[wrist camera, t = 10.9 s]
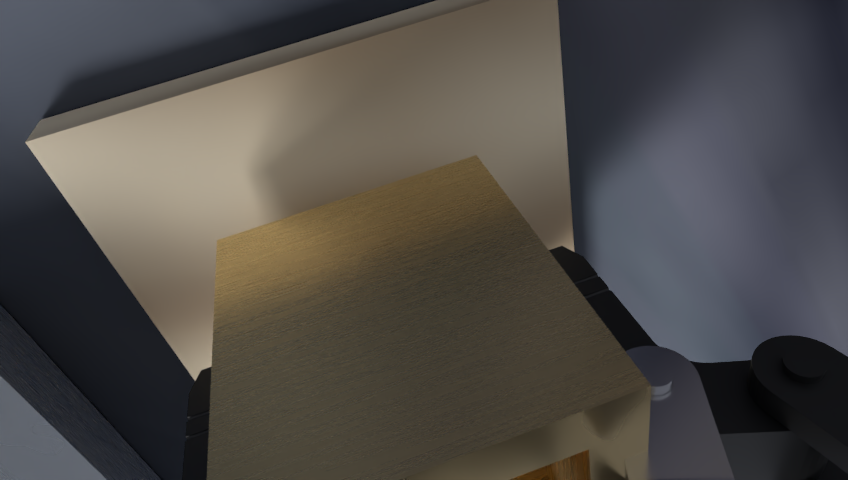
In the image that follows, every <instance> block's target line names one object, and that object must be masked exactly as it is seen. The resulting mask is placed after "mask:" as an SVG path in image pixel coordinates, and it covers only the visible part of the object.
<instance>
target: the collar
mask: <svg viewBox="0 0 848 480" xmlns="http://www.w3.org/2000/svg"><path fill="white" fill-rule="evenodd" d="M650 402H651V385H650V383H649V382H648V381H647V379H646V378H645V377H644V375H643V374H642V373H641V371H640V370H639V369H638V367H637V366H636V365H635V363H634V362H633V361H632V359H631V358H630V357H629V356H628V354H627V353H626V352H625V350H624V349H623V348H622V346H621V345H620V344H619V342H618V341H617V340H616V338H615V337H614V336H613V334H612V333H611V332H610V330H609V329H608V328H607V327H606V325H605V324H604V323H603V321H602V320H601V319H600V317H599V316H598V315H597V313H596V312H595V311H594V309H593V308H592V307H591V305H590V304H589V303H588V301H587V300H586V299H585V297H584V296H583V295H582V294H581V292H580V291H579V290H578V288H577V287H576V286H575V284H574V283H573V282H572V280H571V279H570V278H569V276H568V275H567V274H566V272H565V271H564V270H563V268H562V267H561V266H560V265H559V263H558V262H557V261H556V259H555V258H554V257H553V255H552V254H551V253H550V251H549V250H548V249H547V247H546V246H545V245H544V243H543V242H542V241H541V239H540V238H539V237H538V236H537V234H536V233H535V232H534V230H533V229H532V228H531V226H530V225H529V224H528V222H527V221H526V220H525V218H524V217H523V216H522V214H521V213H520V212H519V210H518V209H517V208H516V206H515V205H514V204H513V203H512V201H511V200H510V199H509V197H508V196H507V195H506V193H505V192H504V191H503V189H502V188H501V187H500V185H499V184H498V183H497V181H496V180H495V179H494V177H493V176H492V175H491V174H490V172H489V171H488V170H487V168H486V167H485V166H484V164H483V163H482V162H481V160H480V159H479V158H478V156H477V155H475V156H472V157H468V158H465V159H462V160H459V161H456V162H453V163H450V164H447V165H444V166H441V167H438V168H435V169H432V170H429V171H426V172H423V173H420V174H417V175H414V176H411V177H408V178H405V179H401V180H398V181H395V182H392V183H389V184H386V185H383V186H380V187H377V188H374V189H371V190H368V191H365V192H362V193H359V194H356V195H353V196H350V197H347V198H344V199H341V200H337V201H334V202H331V203H328V204H325V205H322V206H319V207H316V208H313V209H310V210H307V211H304V212H301V213H298V214H295V215H292V216H289V217H286V218H283V219H280V220H277V221H274V222H270V223H267V224H264V225H261V226H258V227H255V228H252V229H249V230H246V231H243V232H240V233H237V234H234V235H231V236H228V237H225V238H222V239H219V240H217V250H216V274H215V297H214V321H213V344H212V368H211V391H210V414H209V438H208V461H207V480H625V459H627V458H630V457H632V456H635V455H637V454H640V453H643V452H645V451H648V443H649V422H650Z"/></svg>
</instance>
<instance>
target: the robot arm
mask: <svg viewBox="0 0 848 480" xmlns="http://www.w3.org/2000/svg"><path fill="white" fill-rule="evenodd" d="M549 251H550V253H551V254H552V255H553V257H554V258H555V259H556V261H557V262H558V263H559V265H560V266H561V267H562V268H563V270H564V271H565V272H566V274H567V275H568V276H569V278H570V279H571V280H572V282H573V283H574V284H575V286H576V287H577V288H578V290H579V291H580V292H581V294H582V295H583V296H584V297H585V299H586V300H587V301H588V303H589V304H590V305H591V307H592V308H593V309H594V311H595V312H596V313H597V315H598V316H599V317H600V319H601V320H602V321H603V323H604V324H605V325H606V327H607V328H608V329H609V330H610V332H611V333H612V334H613V336H614V337H615V338H616V340H617V341H618V342H619V344H620V345H621V346H622V348H623V349H624V350H625V352H626V353H627V354H628V356H629V357H630V358H631V359H632V361H633V362H634V363H635V365H636V366H637V367H638V369H639V370H640V371H641V373H642V374H643V375H644V377H645V378H646V379H647V381H648V382H649V383H650V385H651V402H650V422H649V443H648V451H645V452H643V453H640V454H637V455H635V456H632V457H630V458H627V459H625V480H848V357H847V356H845V355H844V354H842V353H840V352H839V351H837V350H836V349H834V348H832V347H830V346H828V345H827V344H825V343H822V342H820V341H817V340H814V339H811V338H807V337H801V336H791V335H790V336H779V337H774V338H771V339H768V340H766V341H764V342H762V343H761V344H760V345H759V346H758V347H757V348H756V349H755V351H754V353H753V356H752V360H748V361H733V362H718V363H699V362H692V361H689V360H688V359H686V358H685V357H684V356H682V355H681V354H679V353H677V352H675V351H673V350H670V349H667V348H663V347H659V346H657V345H656V344H655V343H654V342H653V341H652V339H651V338H650V337H649V336H648V335H647V333H646V332H645V331H644V330H643V328H642V327H641V326H640V325H639V324H638V322H637V321H636V320H635V319H634V318H633V316H632V315H631V314H630V313H629V312H628V310H627V309H626V308H625V307H624V306H623V304H622V303H621V302H620V301H619V299H618V298H617V297H616V296H615V295H614V293H613V292H612V291H609V288H608V286H607V285H606V284H605V283H604V281H603V280H602V279H601V278H600V277H598V275H597V273H596V272H595V270H594V269H593V268H592V267H591V266H590V264H589V263H588V262H587V261H586V260H585V258H584V257H583V256H581V255H579V254H577V253H575V252H573V251H571V250H569V249H567V248H566V247H564V246H560V247H557V248H554V249H551V250H549ZM211 368H212V367H209V368H206V369H203V370H201V371H200V373H199V375H198V377H197V379H196V381H195V383H194V385H193V387H192V389H191V391H190V393H189V400H188V413H187V418H188V422H187V425H186V439H187V441H186V442H185V450H184V463H183V475H182V480H207V461H208V438H209V414H210V391H211Z"/></svg>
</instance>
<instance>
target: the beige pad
mask: <svg viewBox="0 0 848 480" xmlns="http://www.w3.org/2000/svg"><path fill="white" fill-rule="evenodd" d="M25 143H26V144H27V145H28V147H29V148H30V150H31V151H32V153H33V154H34V155H35V157H36V158H37V160H38V161H39V162H40V164H41V165H42V167H43V168H44V169H45V171H46V172H47V174H48V175H49V176H50V178H51V179H52V181H53V182H54V183H55V185H56V186H57V188H58V189H59V190H60V192H61V193H62V195H63V196H64V198H65V199H66V200H67V202H68V203H69V205H70V206H71V207H72V209H73V210H74V212H75V213H76V214H77V216H78V217H79V219H80V220H81V221H82V223H83V224H84V226H85V227H86V228H87V230H88V231H89V233H90V234H91V235H92V237H93V238H94V240H95V241H96V243H97V244H98V245H99V247H100V248H101V250H102V251H103V252H104V254H105V255H106V257H107V258H108V259H109V261H110V262H111V264H112V265H113V266H114V268H115V269H116V271H117V272H118V273H119V275H120V276H121V278H122V279H123V280H124V282H125V283H126V285H127V286H128V288H129V289H130V290H131V292H132V293H133V295H134V296H135V297H136V299H137V300H138V302H139V303H140V304H141V306H142V307H143V309H144V310H145V311H146V313H147V314H148V316H149V317H150V318H151V320H152V321H153V323H154V324H155V325H156V327H157V328H158V330H159V331H160V333H161V334H162V335H163V337H164V338H165V340H166V341H167V342H168V344H169V345H170V347H171V348H172V349H173V351H174V352H175V354H176V355H177V356H178V358H179V359H180V361H181V362H182V363H183V365H184V366H185V368H186V369H187V370H188V372H189V373H190V375H191V376H192V378H193V379H194V380H195V381H196V379H197V377H198V375H199V373H200V371H201V370H203V369H206V368H209V367H212V344H213V321H214V297H215V274H216V250H217V240H219V239H222V238H225V237H228V236H231V235H234V234H237V233H240V232H243V231H246V230H249V229H252V228H255V227H258V226H261V225H264V224H267V223H270V222H274V221H277V220H280V219H283V218H286V217H289V216H292V215H295V214H298V213H301V212H304V211H307V210H310V209H313V208H316V207H319V206H322V205H325V204H328V203H331V202H334V201H337V200H341V199H344V198H347V197H350V196H353V195H356V194H359V193H362V192H365V191H368V190H371V189H374V188H377V187H380V186H383V185H386V184H389V183H392V182H395V181H398V180H401V179H405V178H408V177H411V176H414V175H417V174H420V173H423V172H426V171H429V170H432V169H435V168H438V167H441V166H444V165H447V164H450V163H453V162H456V161H459V160H462V159H465V158H468V157H472V156H475V155H477V156H478V158H479V159H480V160H481V162H482V163H483V164H484V166H485V167H486V168H487V170H488V171H489V172H490V174H491V175H492V176H493V177H494V179H495V180H496V181H497V183H498V184H499V185H500V187H501V188H502V189H503V191H504V192H505V193H506V195H507V196H508V197H509V199H510V200H511V201H512V203H513V204H514V205H515V206H516V208H517V209H518V210H519V212H520V213H521V214H522V216H523V217H524V218H525V220H526V221H527V222H528V224H529V225H530V226H531V228H532V229H533V230H534V232H535V233H536V234H537V236H538V237H539V238H540V239H541V241H542V242H543V243H544V245H545V246H546V247H547V249H548V250H551V249H554V248H557V247H560V246H564V247H566V248H567V249H569V250H571V251H573V252H574V239H573V224H572V209H571V194H570V179H569V164H568V149H567V134H566V119H565V104H564V89H563V74H562V59H561V44H560V29H559V14H558V0H436V1H433V2H429V3H426V4H423V5H419V6H416V7H413V8H409V9H406V10H403V11H399V12H396V13H393V14H390V15H386V16H383V17H380V18H376V19H373V20H370V21H366V22H363V23H360V24H356V25H353V26H350V27H346V28H343V29H340V30H337V31H333V32H330V33H327V34H323V35H320V36H317V37H313V38H310V39H307V40H303V41H300V42H297V43H293V44H290V45H287V46H284V47H280V48H277V49H274V50H270V51H267V52H264V53H260V54H257V55H254V56H250V57H247V58H244V59H240V60H237V61H234V62H231V63H227V64H224V65H221V66H217V67H214V68H211V69H207V70H204V71H201V72H197V73H194V74H191V75H188V76H184V77H181V78H178V79H174V80H171V81H168V82H164V83H161V84H158V85H154V86H151V87H148V88H144V89H141V90H138V91H135V92H131V93H128V94H125V95H121V96H118V97H115V98H111V99H108V100H105V101H101V102H98V103H95V104H91V105H88V106H85V107H82V108H78V109H75V110H72V111H68V112H65V113H62V114H58V115H55V116H52V117H48V118H45V119H42V120H40V121H39V123H38V124H37V126H36V127H35V129H34V130H33V131H32V133H31V134H30V136H29V137H28V139H27V140H26V142H25Z"/></svg>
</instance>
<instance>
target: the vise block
mask: <svg viewBox="0 0 848 480" xmlns="http://www.w3.org/2000/svg"><path fill="white" fill-rule="evenodd" d="M0 480H161V479H160V478H159V477H158V475H157V474H156V473H155V472H154V471H153V470H152V469H151V468H150V467H149V466H148V465H147V463H146V462H145V461H144V460H143V459H142V458H141V457H140V456H139V455H138V454H137V453H136V451H135V450H134V449H133V448H132V447H131V446H130V445H129V444H128V443H127V442H126V441H125V439H124V438H123V437H122V436H121V435H120V434H119V433H118V432H117V431H116V430H115V429H114V427H113V426H112V425H111V424H110V423H109V422H108V421H107V420H106V419H105V418H104V417H103V415H102V414H101V413H100V412H99V411H98V410H97V409H96V408H95V407H94V406H93V405H92V403H91V402H90V401H89V400H88V399H87V398H86V397H85V396H84V395H83V394H82V393H81V391H80V390H79V389H78V388H77V387H76V386H75V385H74V384H73V383H72V382H71V381H70V380H69V378H68V377H67V376H66V375H65V374H64V373H63V372H62V371H61V370H60V369H59V368H58V366H57V365H56V364H55V363H54V362H53V361H52V360H51V359H50V358H49V357H48V356H47V354H46V353H45V352H44V351H43V350H42V349H41V348H40V347H39V346H38V345H37V344H36V342H35V341H34V340H33V339H32V338H31V337H30V336H29V335H28V334H27V333H26V332H25V330H24V329H23V328H22V327H21V326H20V325H19V324H18V323H17V322H16V321H15V320H14V318H13V317H12V316H11V315H10V314H9V313H8V312H7V311H6V310H5V309H4V308H3V306H2V305H1V304H0Z"/></svg>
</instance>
